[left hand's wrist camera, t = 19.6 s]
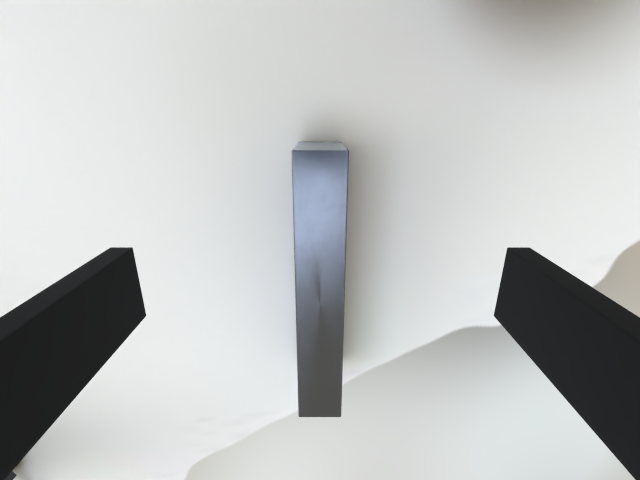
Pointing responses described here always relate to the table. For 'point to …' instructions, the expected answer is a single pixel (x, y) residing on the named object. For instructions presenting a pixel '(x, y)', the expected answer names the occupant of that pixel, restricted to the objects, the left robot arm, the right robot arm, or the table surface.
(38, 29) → the table surface
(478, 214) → the table surface
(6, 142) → the table surface
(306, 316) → the bar
